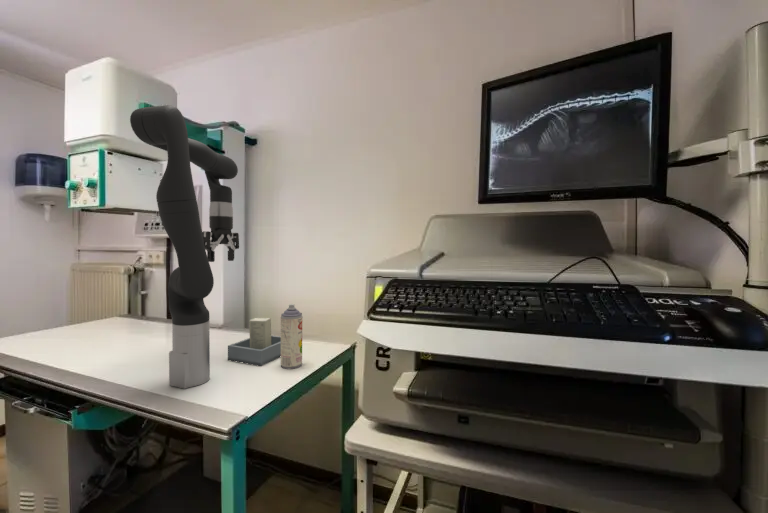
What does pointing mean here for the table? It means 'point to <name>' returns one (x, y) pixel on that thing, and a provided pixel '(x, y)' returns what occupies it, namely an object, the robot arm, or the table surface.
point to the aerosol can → (291, 338)
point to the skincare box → (260, 333)
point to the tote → (254, 352)
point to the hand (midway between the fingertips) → (221, 261)
